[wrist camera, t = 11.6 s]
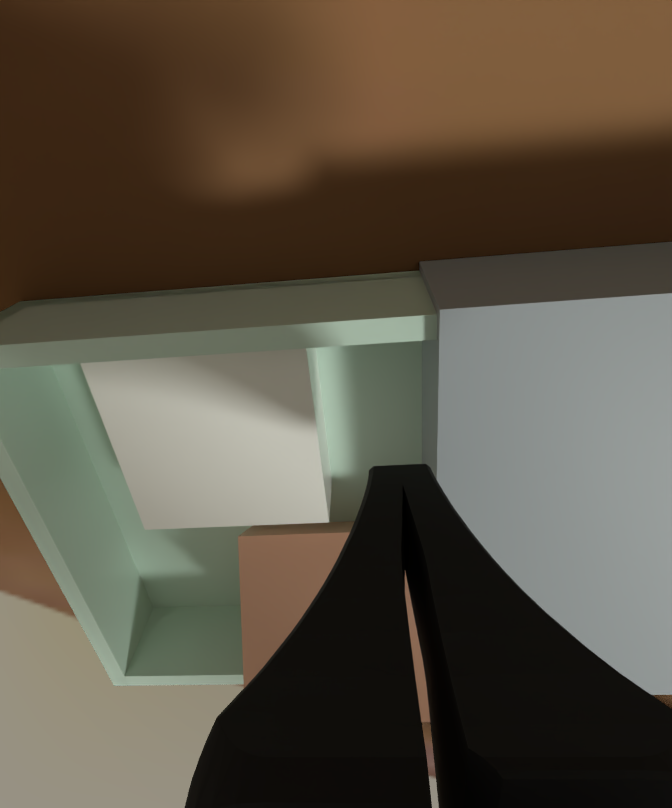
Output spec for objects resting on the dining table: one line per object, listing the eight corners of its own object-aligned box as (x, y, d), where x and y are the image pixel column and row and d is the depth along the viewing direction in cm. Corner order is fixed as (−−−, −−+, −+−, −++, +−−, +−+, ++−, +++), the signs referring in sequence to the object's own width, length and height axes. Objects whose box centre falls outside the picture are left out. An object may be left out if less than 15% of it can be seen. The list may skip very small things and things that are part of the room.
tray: (420, 597, 21) (431, 681, 18) (148, 604, 22) (114, 685, 19) (419, 270, 14) (437, 314, 11) (20, 301, 15) (-70, 350, 12)
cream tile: (144, 529, 16) (165, 489, 18) (329, 522, 15) (331, 481, 17) (79, 362, 13) (112, 333, 15) (305, 346, 12) (312, 318, 14)
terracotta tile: (425, 689, 17) (431, 721, 15) (259, 690, 18) (245, 723, 16) (414, 518, 18) (419, 529, 16) (253, 524, 18) (237, 536, 16)
